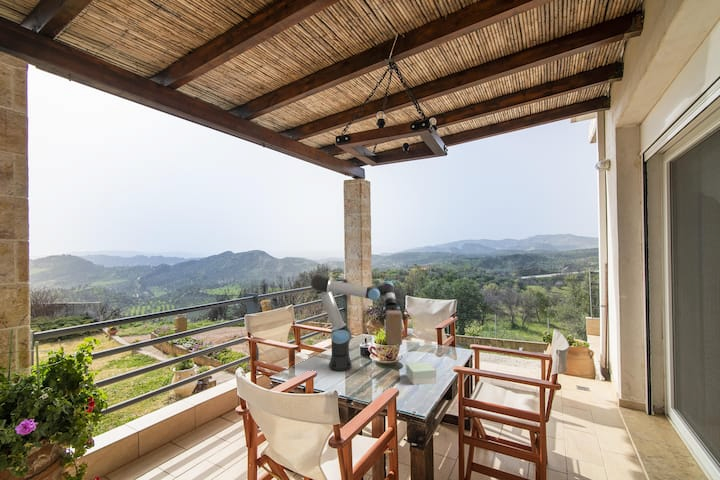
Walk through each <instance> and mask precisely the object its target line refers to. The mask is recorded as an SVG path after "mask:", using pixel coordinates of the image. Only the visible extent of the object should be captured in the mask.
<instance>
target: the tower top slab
mask: <svg viewBox="0 0 720 480" xmlns="http://www.w3.org/2000/svg"><path fill="white" fill-rule="evenodd" d="M405 367H406V368H405V371H406V370H407V372H408V373H409V374H410V375H411V377H412V378H413V379H418V378H431V377H436V378H437V370H436V369H435V368H434V367H433V366H432V365H431V364H430V362H428V361H425V362H424V361H423V362H410V363H409V362H408V363H406V364H405Z"/></svg>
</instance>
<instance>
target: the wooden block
mask: <svg viewBox="0 0 720 480" xmlns="http://www.w3.org/2000/svg"><path fill="white" fill-rule="evenodd" d="M385 313H386V318H385V321H386V331H385V343H386V345H388V346H389V345H390V346H392V345H393V346H396V345H397V346H401V345H403V330H402V313H401V311H400V310H398V309H397V310H386V311H385Z"/></svg>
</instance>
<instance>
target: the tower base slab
mask: <svg viewBox="0 0 720 480" xmlns="http://www.w3.org/2000/svg"><path fill="white" fill-rule="evenodd" d="M405 373H406V374H405V375H406V377H407V379H408V380H409V381H410V382H411V385H413V386H415V385H416V386H417V385H429V384H437V376H436V377H431V378H418V379H413V378H412V377H411V375H410V374H409V373H408V372H407V370H406V369H405Z"/></svg>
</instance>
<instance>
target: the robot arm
mask: <svg viewBox="0 0 720 480" xmlns="http://www.w3.org/2000/svg"><path fill="white" fill-rule="evenodd" d="M309 283H310V286H311V288H312V289H313V290H314V291H315V292H316V294H317V295H318V296H319V297H320V299H321V302H322V304H323V306H324V309H325V311H326V314H327V316H328V319H329V322H330V325H331V326H332V328H331V338H330V339H331V357H330V359H329V364H328V368H329V370H330V371H335V372H345V371H349V370H351V369H352V368H353V364H352V360H351V357H350V342H351V340H352V337H353V336H352V331H351V330H350V329H349V327H348V324H347V323H346V322H344V320H343V317H342V314H341V312H340V310H339V307H338V305H337V304H338V303H337V302H336V299H335V297H334V295H333V294H334V293H337V294H342V295H349V296H353V297H359V298H365V299H367V300H368V299H369V300H371V301H377V300H378V299H379V298H380V297H382V296H383V298H384V304H385V306H381V307H380V308H381V309H380V314H379V317H378V321H379V322H380V321H381V323H382V324H381V326H383V327H384V332H386V312H385V313H384V311H385V310H386V311H387V310H399V311H401V313H402V331H404V330H405V321H406V320H407V318H408V317H407V315H406V313H405V312H404V310H403V308H402V306H400V305H399V306H397V300H396V299H397V298H396V295H395V294H396V293H395V288H394V287H395V286H394V283H393V281H390V280H385V281H383V282H382V284H380V285H372V286H363V285H359V284H354V283H348V282H343V281H337V280H333V279H331V278H330V276H329V275H328V274H327V273H325V272H319V273H316V274H315V275H313V276H312V277H311V278H310V282H309ZM383 314H384V315H383Z"/></svg>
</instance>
